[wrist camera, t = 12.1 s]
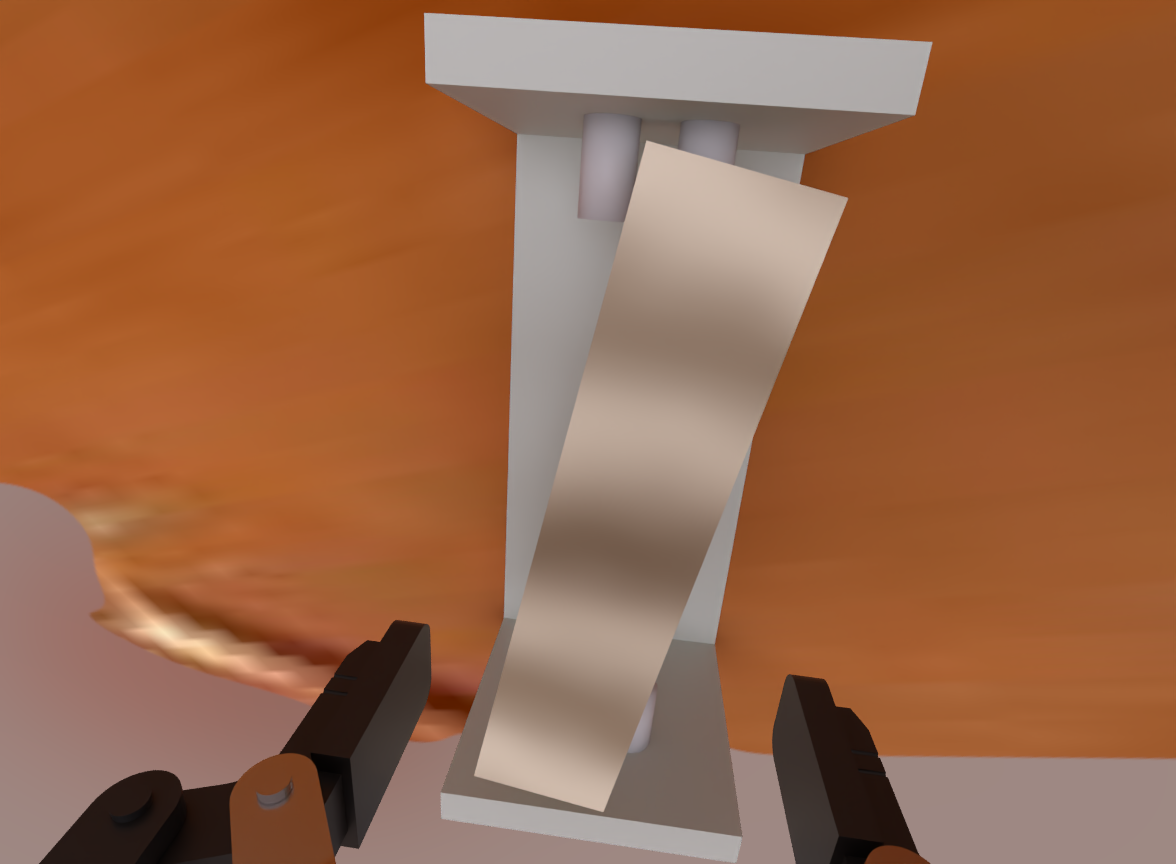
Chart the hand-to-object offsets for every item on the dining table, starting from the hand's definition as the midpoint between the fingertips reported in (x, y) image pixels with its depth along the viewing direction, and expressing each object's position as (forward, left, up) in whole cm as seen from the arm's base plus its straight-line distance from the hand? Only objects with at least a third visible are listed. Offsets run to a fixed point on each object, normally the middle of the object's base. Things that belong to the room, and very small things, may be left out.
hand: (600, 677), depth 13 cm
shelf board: (0, 0, -9) cm, 9 cm away
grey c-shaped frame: (0, 0, -18) cm, 18 cm away
